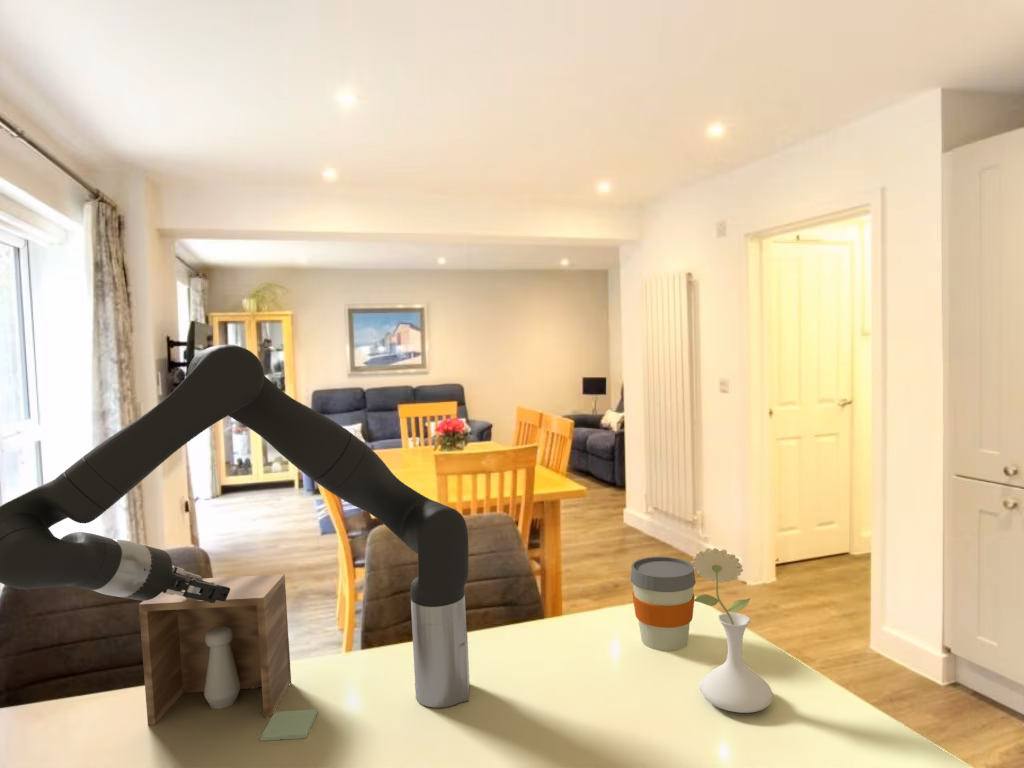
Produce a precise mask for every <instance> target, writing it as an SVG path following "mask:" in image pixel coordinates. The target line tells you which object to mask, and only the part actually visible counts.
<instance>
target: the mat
mask: <svg viewBox="0 0 1024 768" xmlns="http://www.w3.org/2000/svg"><path fill="white" fill-rule="evenodd" d="M318 711H319V710H318V708H317V709H314V708H313V709H302V710H301V709H300V710H299V709H298V710H283V711H282V710H281V711H275V712H274V713H273V715H272V717H270V720H269V721H268V723H267V725H266V726H265V728H264V730H263V732H262V734H261V735H260V740H259V741H260V742H265V741H277V740H278V741H280V739H281V740H282V739H283V740H295V739H296V740H298V739H306V738H307V737H308V735H309V733H310V730H311V728H312V726H313V724H314V722H315V720H316V718H315V717H317V716H316V715H318V714H319V712H318Z"/></svg>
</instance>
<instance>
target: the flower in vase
mask: <svg viewBox="0 0 1024 768" xmlns="http://www.w3.org/2000/svg"><path fill="white" fill-rule="evenodd" d="M690 564H692V565H693V567H694V571H695V572H697V575H699V576H701V577H702V578H703V579H706V580H709V579H710V581H711V582H713V583H715V595H716V597H714V596H712V595H709V594H707V593H705V594H704V593H702V594H700V595H698V596H697V597H695V599H694V602H697V603H700V604H704V605H706V606H710V607H713V606H715V605H717V604H718V603H719V604H720V606H721V607H722V608H723V610H724V611H725V612H723V613H720V614H719V615H718V617H717V618H718V621H719V622H720V624H721V625H722V627H723V629H724V632H725V636H726V642H727V656H726V659H725V662H723V663H722V664H721V665H719V666H717V667H715V668H714V669H712V670H710V671H709V672H707V674H705V675H704V676H703V677H702V679H701V681H700V684H699V691H700V693H701V694H702V696H703V697H704V699H705V700H706V701H707V702H708V703H710V704H711V705H713V706H715V707H716V708H719V709H722V710H723V711H724V710H725V711H730V712H731V713H732V712H733V713H742V714H743V713H744V714H747V713H748V714H749V713H750V714H751V713H756V712H760V711H762V710H765V709H766V708H768V707H769V705H770V704H771V703H772V702H773V700H774V693H773V690H772V688H771V686H770V685H769V683H768V682H766V680H765V679H764V678H762V677H761V676H760V675H759V674H758V673H756V672H755V671H754V670H752V668H750V667H748V665H747V664H745V662H744V661H745V660H744V658H743V641H744V634H745V631H746V629H747V627H748V625H750V623H751V622H752V621H751V618H750V617H748V616H747V615H745V614H743V613H740V612H739V611H741V610H743V609H744V608H746V606H748V604H749V603H750V600H751V597H749V598H746V599H738V600H735V601H733V602H732V603H731V604H730V606H729V607H728V608H726V607H725V605H724V604H723V602H722V600H721V599H720V595H719V583H724V582H727V583H728V582H731V581H733V580H734V581H737V580H738V579H739V576H741V575H742V572H744V569H743V565H742V564H741V563H740V559H739V558H738V557H736V555H735V554H733V553H728V552H727V550H726V549H721V550H719V548H717V547H714V548H712V549H711V548H710V547H706V548H705V550H699V551H698V552H697V553H695V556H694V557H693V559H692V561H691V563H690ZM738 612H739V613H738Z"/></svg>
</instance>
